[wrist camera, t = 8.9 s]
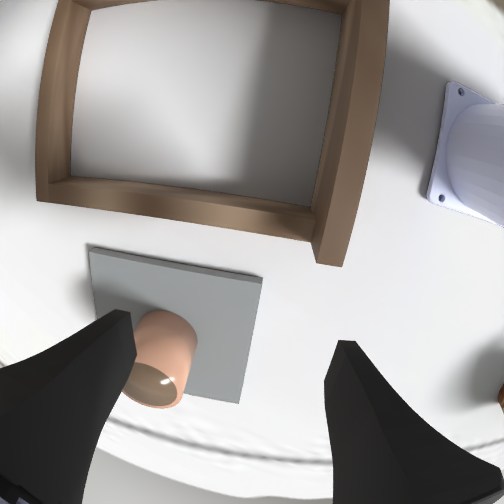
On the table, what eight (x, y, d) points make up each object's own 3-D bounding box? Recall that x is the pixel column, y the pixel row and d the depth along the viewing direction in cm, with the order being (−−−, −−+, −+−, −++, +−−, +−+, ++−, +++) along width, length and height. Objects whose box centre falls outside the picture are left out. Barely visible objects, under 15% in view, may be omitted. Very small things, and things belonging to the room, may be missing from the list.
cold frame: (363, 4, 12) (390, -30, 7) (325, 230, 18) (341, 267, 13) (81, -1, 12) (38, -20, 8) (58, 191, 18) (11, 212, 13)
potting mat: (262, 277, 19) (262, 283, 19) (239, 396, 24) (238, 403, 23) (94, 247, 19) (88, 251, 19) (111, 366, 24) (108, 372, 24)
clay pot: (193, 311, 20) (173, 363, 15) (201, 361, 22) (188, 412, 17) (131, 308, 20) (101, 354, 15) (145, 356, 22) (124, 403, 17)
